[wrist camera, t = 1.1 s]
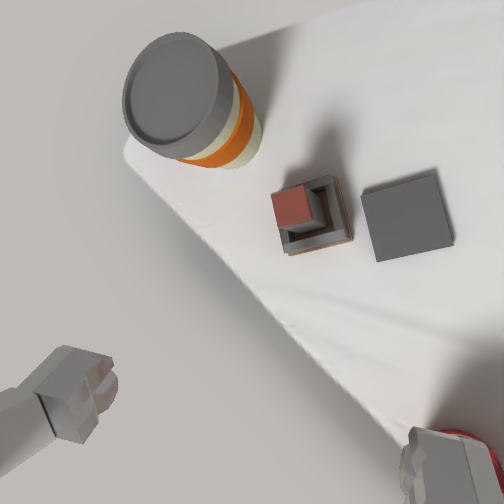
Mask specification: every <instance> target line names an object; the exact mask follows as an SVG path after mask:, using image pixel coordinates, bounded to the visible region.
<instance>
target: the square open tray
mask: <svg viewBox="0 0 504 504" xmlns="http://www.w3.org/2000/svg"><path fill="white" fill-rule="evenodd" d="M300 185H304V186H305V187H306V188H308V189H309V190H310V191H312V192H313V193H314V194H316V195H317V196H318V197H320V198H321V199H322V200H323V204H324V208H325V212H326V217H327V221H328V225H329V227H327V228H324V229H320V230H316V231H312V232H309V233H305V234H299V233H295V232H292V231H288V230H285V229H281V228H279V232H280V237H281V241H282V246H283V250H284V253H288V254H289V256H294V255H298V254H302V253H306V252H310V251H314V250H318V249H322V248H326V247H330V246H334V245H338V244H342V243H346V242H350V241H353V239H352V235H351V230H350V226H349V222H348V218H347V214H346V210H345V206H344V202H343V198H342V194H341V190H340V186H339V181H338V178H337V177H332V175H331V174H330V175H327V176H324V177H321V178H318V179H315V180H312V181H309V182H306V183H303V184H299V185H296V186H293V187H290V188H287V189H284V190H281V191H278V192H275V193H272V194H276V193H279V192H282V191H285V190H288V189H291V188H294V187H297V186H300ZM272 194H271V195H272Z"/></svg>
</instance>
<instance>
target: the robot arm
mask: <svg viewBox="0 0 504 504" xmlns="http://www.w3.org/2000/svg"><path fill="white" fill-rule="evenodd" d="M113 366H114V363H113V360H112V357H109V356H105V355H101V354H97V353H94V352H89V351H86V350H81V349H78V348H74V347H70V346H66V345H62V346H60V347H58V348H56V349H55V350H54V351H53V352H52V353H51V354H50V355H49V356H48V357H47V358H46V359H45V360H44V361H43V363H41V364H40V365H39V366H38V367H37V368H36V369H35V370H34V371H33V372H32V373H31V374H30V375H29V376H28V377H27V378H26V379H25V380H24V381H23V382H22V383H21V384H20V385H19V386H18V387H17V388H12V387H11V388H9V389H7V390H5V391H3V392H0V478H1V477H3V476H4V475H5V474H7V473H8V472H10V471H11V470H12V469H14V468H16V467H17V466H18V465H20V464H21V463H23V462H24V461H25V460H27V459H28V458H30V457H31V456H33V455H34V454H36V453H37V452H39V451H40V450H41V449H43V448H44V447H46V446H47V445H49V444H50V443H52V442H53V441H54V440H56V438H60V439H64V440H68V441H72V442H75V443H79V444H84V443H85V441H86V440H87V438H88V437H89V436H90V434H91V433H92V431H93V430H94V428H95V427H96V426H97V424H98V415H99V414H100V413H102V412H104V411H105V410H107V409H108V408H109V407H110V405H111V404H112V402H113V401H114V399H115V396H116V393H117V391H118V379H117V376H116V375H115V374H114V373H113V371H112V370H111V369H112V368H113ZM55 437H56V438H55ZM408 437H409V444H408V445H406V446H404V448H403V451H402V454H401V460H400V487H401V489H402V490H403V492H404V494H405V495H406V500H405V502H404V504H504V498H503V495H502V492H501V489H500V486H499V483H498V479H497V476H496V473H495V470H494V467H493V464H492V460H491V457H490V454H489V451H488V448H487V446H486V445H485V444H484V443H483V442H480V441H475V440H471V439H466V438H461V437H458V436H456V435H451V434H446V433H442V432H437V431H433V430H428V429H423V428H419V427H412V428H411V430H410V432H409V435H408Z"/></svg>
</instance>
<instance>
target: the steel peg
mask: <svg viewBox="0 0 504 504" xmlns="http://www.w3.org/2000/svg"><path fill="white" fill-rule="evenodd" d="M271 198H272V203H273V207H274V212H275V217H276V221H277V226H278V228H281V229H285V230H288V231H292V232H295V233H299V234H305V233H309V232H312V231H316V230H320V229H324V228H327V227H329V225H328V221H327V217H326V212H325V208H324V204H323V200H322V199H321V198H320V197H318V196H317V195H316V194H314V193H313V192H312V191H310V190H309V189H308V188H306V187H305V186H304V185H300V186H297V187H294V188H291V189H288V190H285V191H282V192H279V193H276V194H272V195H271Z"/></svg>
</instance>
